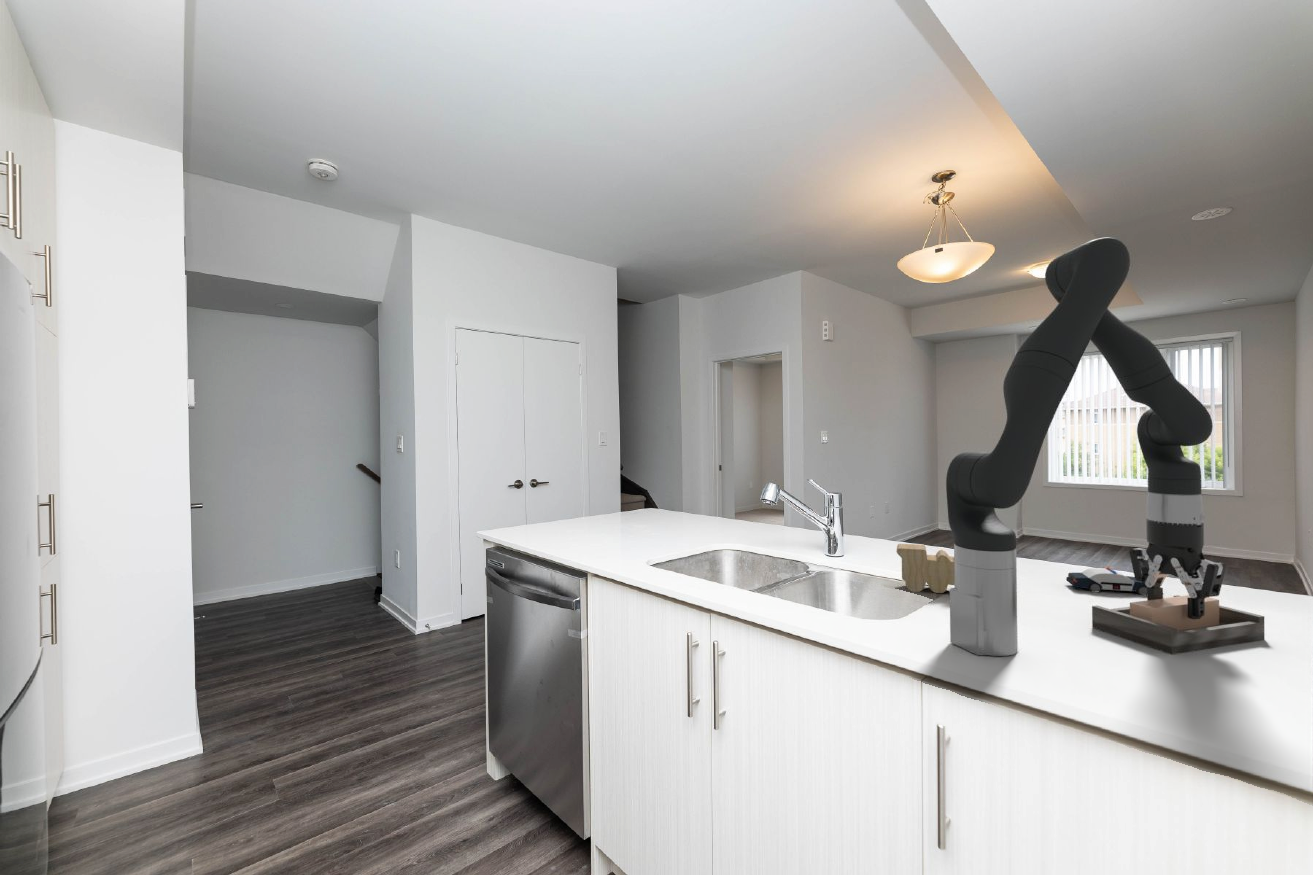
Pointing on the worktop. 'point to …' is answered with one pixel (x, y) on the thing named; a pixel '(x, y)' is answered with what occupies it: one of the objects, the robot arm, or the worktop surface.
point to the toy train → (925, 568)
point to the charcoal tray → (1228, 632)
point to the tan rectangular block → (1175, 612)
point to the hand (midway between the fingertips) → (1175, 612)
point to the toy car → (1106, 581)
